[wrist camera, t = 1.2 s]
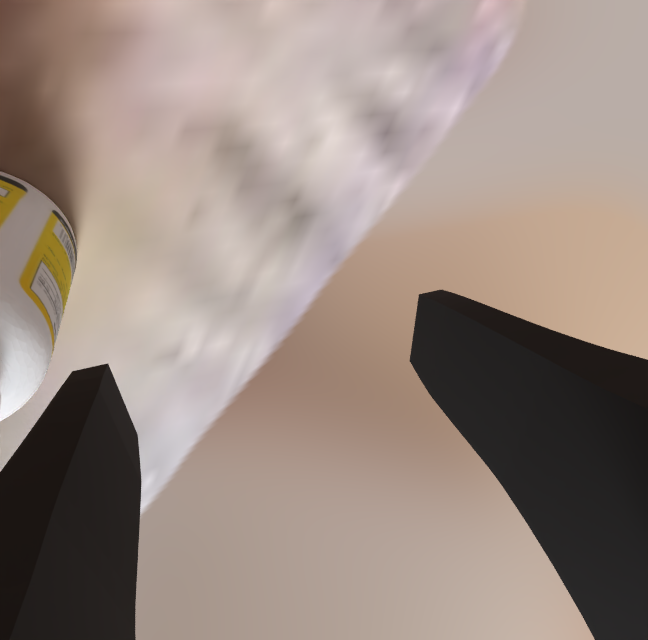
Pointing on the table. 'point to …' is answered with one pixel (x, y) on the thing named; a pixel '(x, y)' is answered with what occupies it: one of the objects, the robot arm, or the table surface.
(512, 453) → the robot arm
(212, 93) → the table surface
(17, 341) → the supplement bottle
